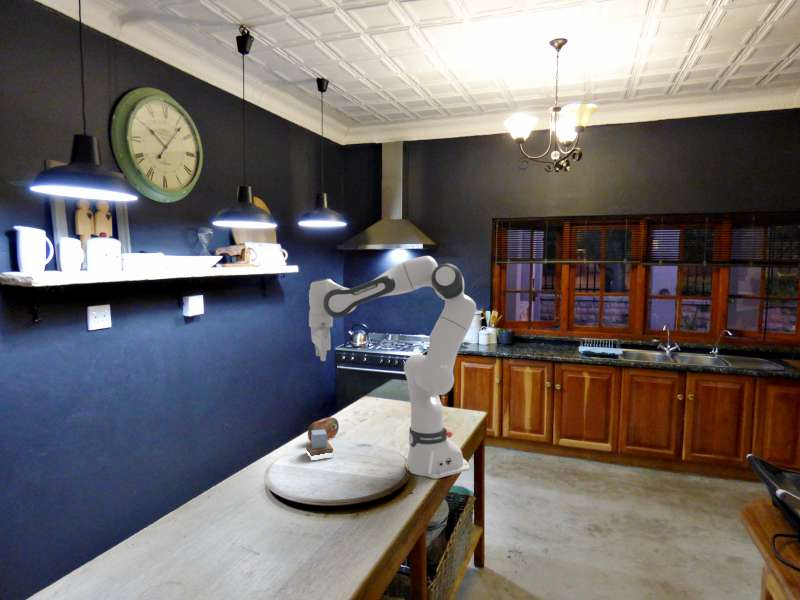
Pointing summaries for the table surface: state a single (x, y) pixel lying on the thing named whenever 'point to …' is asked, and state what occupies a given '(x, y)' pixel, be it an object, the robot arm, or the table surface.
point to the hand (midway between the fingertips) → (320, 358)
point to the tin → (325, 427)
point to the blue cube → (318, 438)
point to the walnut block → (319, 449)
